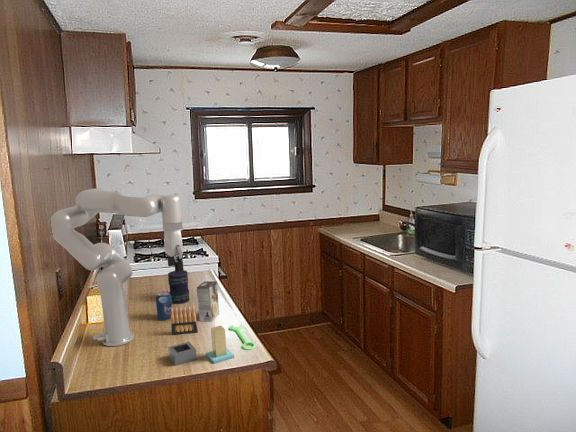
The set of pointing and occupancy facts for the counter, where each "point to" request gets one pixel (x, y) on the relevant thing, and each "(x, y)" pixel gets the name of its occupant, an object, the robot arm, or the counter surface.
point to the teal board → (219, 359)
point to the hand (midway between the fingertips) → (175, 268)
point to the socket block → (182, 353)
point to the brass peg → (218, 341)
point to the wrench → (242, 337)
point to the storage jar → (178, 287)
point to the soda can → (163, 305)
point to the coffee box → (208, 301)
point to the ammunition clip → (183, 321)
